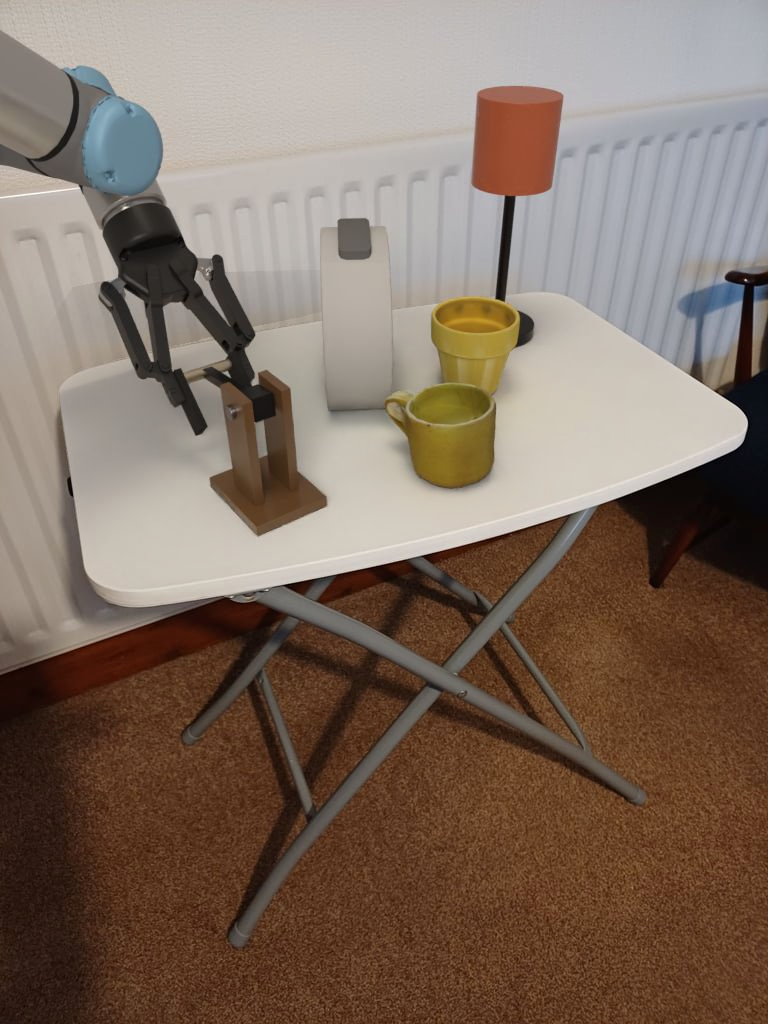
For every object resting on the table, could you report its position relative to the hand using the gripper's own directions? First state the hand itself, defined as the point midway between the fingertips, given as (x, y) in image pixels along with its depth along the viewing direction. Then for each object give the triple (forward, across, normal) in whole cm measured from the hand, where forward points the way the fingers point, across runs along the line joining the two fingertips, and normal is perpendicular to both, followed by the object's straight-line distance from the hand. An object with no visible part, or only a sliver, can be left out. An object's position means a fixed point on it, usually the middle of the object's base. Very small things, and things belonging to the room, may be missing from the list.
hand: (229, 421), depth 82 cm
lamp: (-1, -45, -9) cm, 46 cm away
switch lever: (-1, 0, +4) cm, 4 cm away
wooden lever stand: (+9, 0, +1) cm, 9 cm away
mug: (+13, -18, +5) cm, 23 cm away
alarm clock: (-1, -21, -9) cm, 23 cm away
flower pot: (+6, -32, -2) cm, 32 cm away
